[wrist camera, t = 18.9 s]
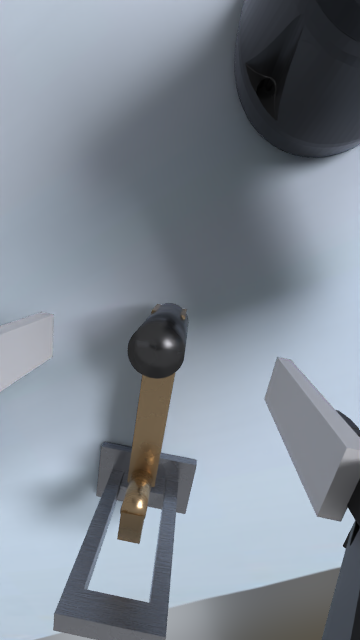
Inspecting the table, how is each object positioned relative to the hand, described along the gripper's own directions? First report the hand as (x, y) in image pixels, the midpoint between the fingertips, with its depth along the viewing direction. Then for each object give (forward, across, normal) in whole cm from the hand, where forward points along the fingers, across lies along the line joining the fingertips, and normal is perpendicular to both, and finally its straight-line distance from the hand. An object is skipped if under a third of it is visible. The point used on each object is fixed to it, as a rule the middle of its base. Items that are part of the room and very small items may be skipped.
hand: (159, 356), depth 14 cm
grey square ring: (+12, -1, -22) cm, 25 cm away
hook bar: (+9, -1, -9) cm, 13 cm away
